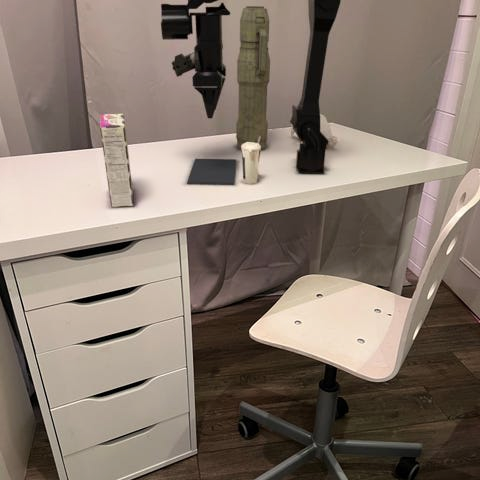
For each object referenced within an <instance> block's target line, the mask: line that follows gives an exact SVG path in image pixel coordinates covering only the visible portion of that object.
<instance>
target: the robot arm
mask: <svg viewBox="0 0 480 480" xmlns="http://www.w3.org/2000/svg"><path fill="white" fill-rule="evenodd" d="M218 1H219V0H187V3H186V4H171V3H161V4H160V9H161V12H160V13H161V16H160V17H161V21H160V28H161V29H160V30H161V39H162V41H173V40H175V41H177V40H179V41H180V40H182V41H183V40H187V41H188V40H189V36H191V35H194V32H193V31H194V28H193V17H194V21H195V41H196V43H195V44H194V45H195V46H194V47H193V52H191V53H188V54H186V55H184V54H183V52H182V53H179V54H176V55H174V60H173V61H171V65H172V70H173V71H174V74H175V76H176V77H177V78H178V77H181V76H183V74H186V73H188V72H190V71H193V70H194V72H195V73H194V74H193V75H192V87H193V88H194V90H195V91H197V92H198V93H199V94H200V95H201V97H202V101H203V106H204V109H205V113H206V117H207V119H213V117H214V114H215V111H216V110H217V106H218V103H219V100H220V97H221V94H222V92H223V88H224V85H225V82H226V77H227V66H226V65H225V64H224V62H223V49H224V43H223V19H222V18H223V16H230V15H231V11H230V10H228V8H227V7H226V6H225V3H224V2H221V3H220V4H219V6H205V11H204V12H203V11H202V12H201V11H199V12H194V11H193V12H190V10H197V9H199V8H200V7H201V6H202V5H203V4H212V3H215V2H218ZM307 2H308V4H307V5H308V6H307V7H308V22H309V37H308V47H307V54H306V61H305V69H304V75H303V84H302V92H301V97H300V101H299V103H298V105H294V104H293V105H291V106H292V107H291V111H292V112H291V118H290V120H289V124H290V125H292V126H291V128H293V130H294V134H295V135H296V136H297V138H298V139H299V140H300V142H301V143H299V147H298V149H296V154H295V155H296V156H295V168H296V170H297V172H298V174H314V175H315V174H317V175H318V174H320V175H324V174H326V172H325V161H326V151H327V147H328V146H329V144H328V142H329V141H328V140H327V139H326V138H325V136H324V135H323V134H322V133H321V132H320V114H321V109H320V95H321V89H322V83H323V76H324V69H325V64H326V63H325V62H326V56H327V50H328V44H329V38H330V37H329V36H330V33H331V30H332V28H333V26H334V23H335V21H336V19H337V16H338V12H339V9H340V6H341V2H342V0H307Z"/></svg>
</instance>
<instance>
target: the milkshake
mask: <svg viewBox="0 0 480 480" xmlns="http://www.w3.org/2000/svg"><path fill="white" fill-rule="evenodd" d="M260 138H261V136H259V139H258V142H257V143H254V142H246V143H244V144H242V145H241V150H240V151H241V163H242V180H243V183H244V184H249V185H253V184H257V182H258V176H259V166H260V157H261V152H262V150H261V146H260V144H259V141H260Z"/></svg>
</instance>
